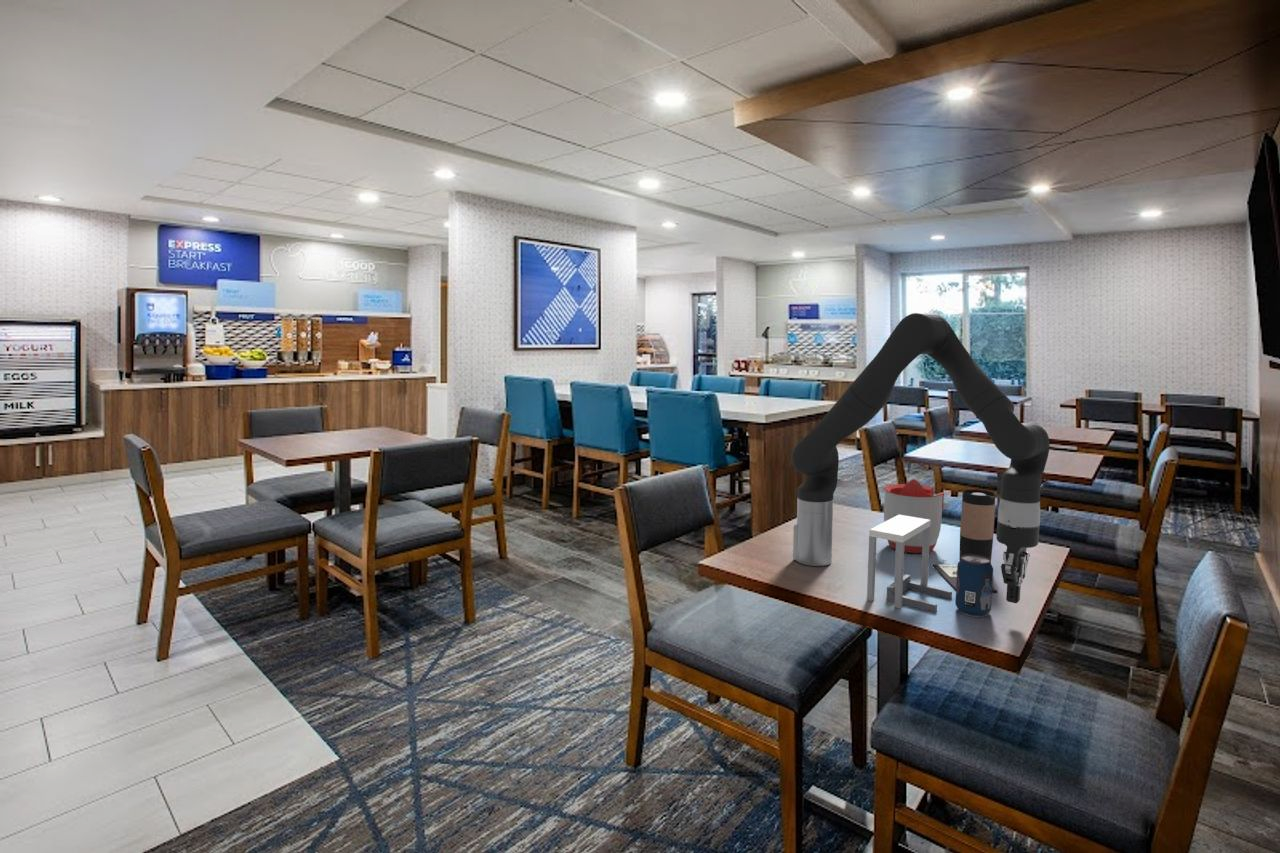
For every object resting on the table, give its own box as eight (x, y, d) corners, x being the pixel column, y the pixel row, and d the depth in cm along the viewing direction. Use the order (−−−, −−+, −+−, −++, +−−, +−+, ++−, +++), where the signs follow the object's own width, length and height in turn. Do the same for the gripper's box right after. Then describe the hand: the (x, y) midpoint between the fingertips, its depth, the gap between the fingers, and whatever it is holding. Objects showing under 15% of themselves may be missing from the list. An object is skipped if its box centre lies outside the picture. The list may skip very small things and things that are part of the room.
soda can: (959, 603, 149) (962, 551, 147) (993, 610, 144) (997, 557, 143) (951, 612, 143) (954, 559, 142) (986, 621, 139) (989, 566, 137)
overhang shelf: (866, 599, 151) (869, 529, 149) (896, 579, 163) (898, 514, 161) (930, 616, 141) (933, 541, 139) (956, 593, 154) (959, 524, 152)
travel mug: (954, 562, 175) (958, 488, 173) (986, 564, 174) (990, 489, 171) (962, 572, 168) (966, 495, 166) (995, 574, 167) (1000, 496, 164)
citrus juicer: (958, 556, 181) (961, 484, 178) (895, 557, 180) (898, 485, 178) (930, 539, 196) (933, 473, 194) (873, 540, 196) (875, 474, 193)
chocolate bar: (957, 589, 155) (932, 564, 173) (956, 593, 155) (932, 567, 173) (997, 590, 154) (968, 565, 172) (997, 594, 154) (968, 568, 172)
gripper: (1006, 511, 143) (1001, 588, 145) (989, 524, 134) (984, 606, 136) (1046, 517, 138) (1040, 596, 140) (1031, 531, 129) (1025, 616, 131)
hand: (1012, 601), depth 138 cm, fingers closed
